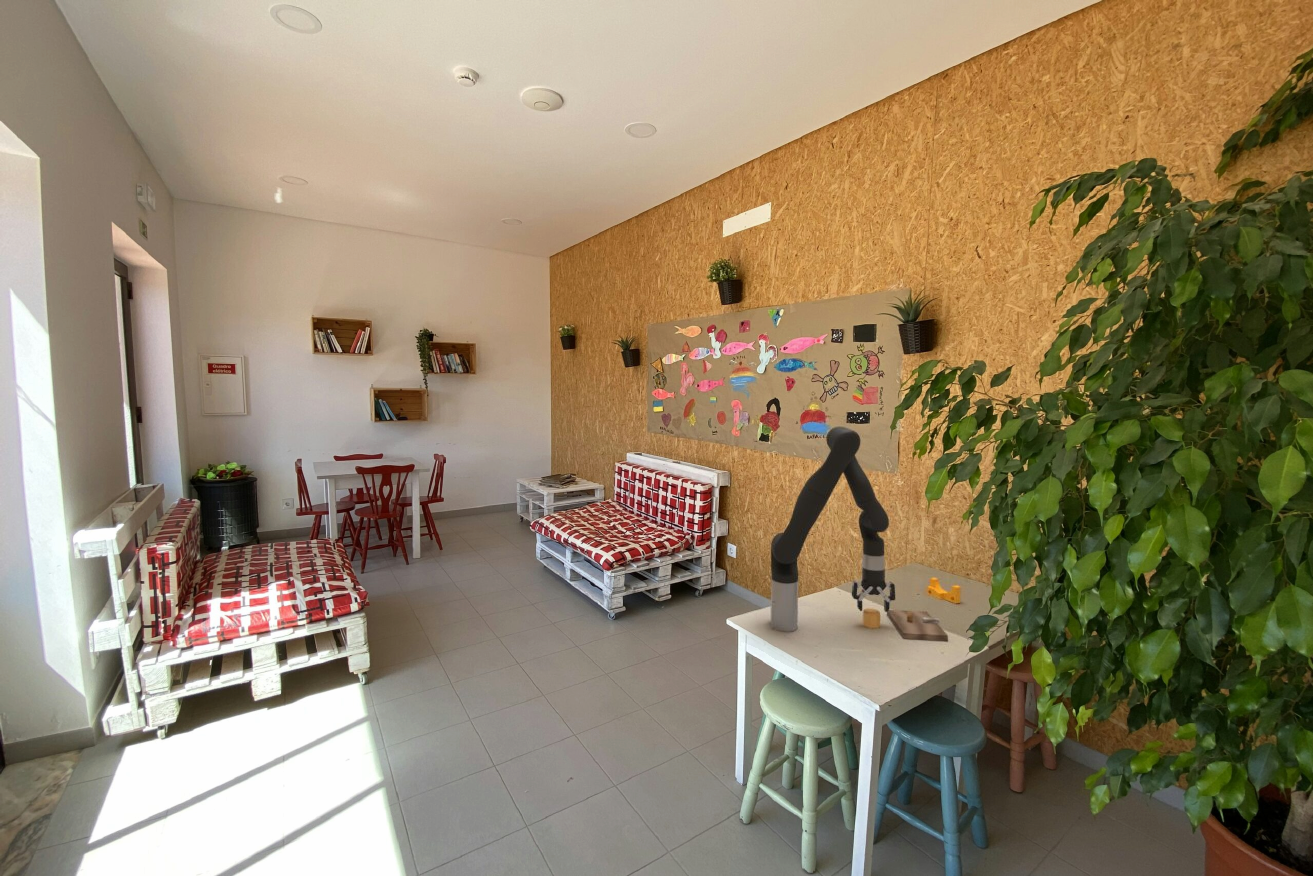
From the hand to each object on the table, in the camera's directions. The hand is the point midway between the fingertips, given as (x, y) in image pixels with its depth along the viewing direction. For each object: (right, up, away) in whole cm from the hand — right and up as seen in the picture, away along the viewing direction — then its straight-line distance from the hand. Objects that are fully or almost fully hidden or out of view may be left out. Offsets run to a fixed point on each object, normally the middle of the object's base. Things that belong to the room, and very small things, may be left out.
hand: (873, 610), depth 191 cm
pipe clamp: (+39, -4, +26) cm, 47 cm away
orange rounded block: (0, -5, +1) cm, 5 cm away
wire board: (+14, -5, -1) cm, 15 cm away
